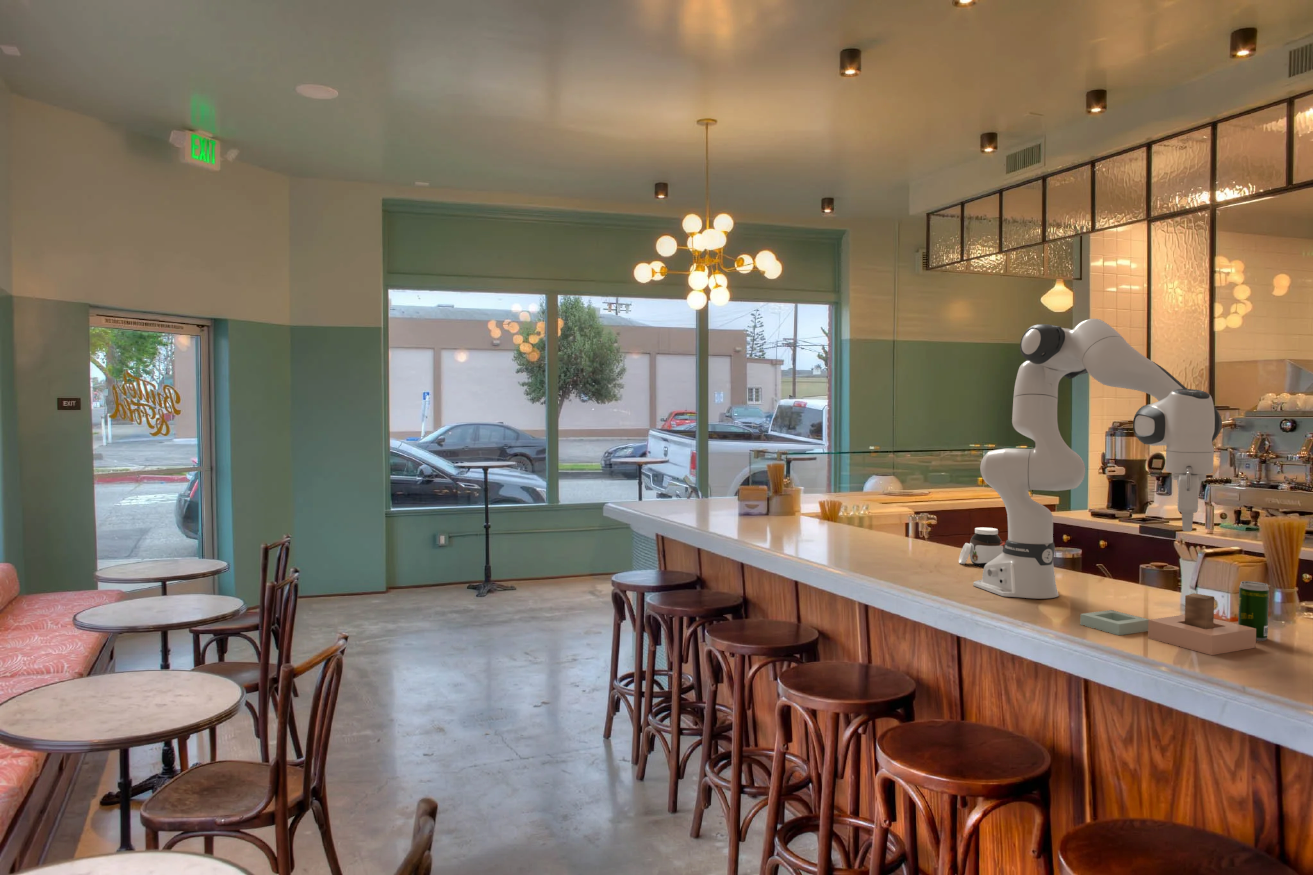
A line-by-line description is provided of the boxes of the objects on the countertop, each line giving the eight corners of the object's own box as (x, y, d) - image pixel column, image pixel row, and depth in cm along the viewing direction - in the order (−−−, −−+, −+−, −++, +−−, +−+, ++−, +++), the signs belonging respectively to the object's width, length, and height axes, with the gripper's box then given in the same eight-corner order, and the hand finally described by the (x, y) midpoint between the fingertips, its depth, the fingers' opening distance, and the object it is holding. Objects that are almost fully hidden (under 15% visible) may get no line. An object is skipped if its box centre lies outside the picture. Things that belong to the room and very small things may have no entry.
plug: (1184, 641, 185) (1185, 595, 184) (1192, 638, 187) (1193, 593, 187) (1204, 645, 182) (1205, 598, 181) (1213, 642, 184) (1214, 596, 183)
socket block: (1148, 637, 188) (1148, 619, 187) (1191, 631, 193) (1191, 613, 193) (1211, 655, 175) (1211, 635, 175) (1255, 647, 180) (1256, 628, 180)
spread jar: (1006, 567, 268) (1007, 530, 268) (974, 569, 265) (975, 532, 265) (983, 561, 280) (983, 525, 279) (952, 562, 277) (952, 526, 276)
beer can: (1269, 637, 188) (1271, 583, 187) (1265, 642, 184) (1267, 587, 183) (1240, 633, 192) (1241, 579, 191) (1235, 638, 188) (1237, 583, 187)
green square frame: (1080, 624, 199) (1080, 613, 199) (1111, 620, 203) (1111, 609, 203) (1118, 635, 190) (1119, 624, 190) (1150, 630, 194) (1150, 619, 194)
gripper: (1206, 470, 176) (1204, 536, 177) (1206, 460, 194) (1204, 520, 195) (1171, 468, 180) (1169, 534, 181) (1173, 459, 197) (1171, 518, 198)
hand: (1187, 527), depth 188 cm, fingers open, 8 cm apart
